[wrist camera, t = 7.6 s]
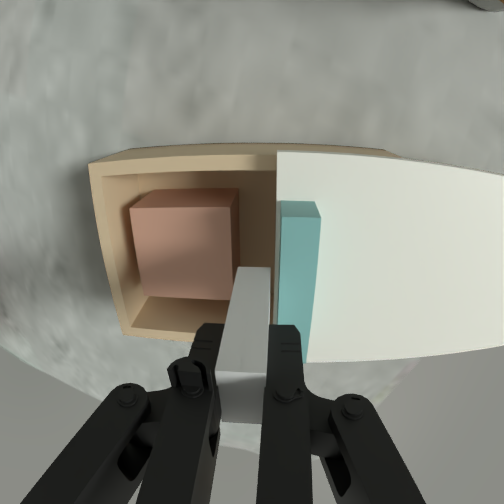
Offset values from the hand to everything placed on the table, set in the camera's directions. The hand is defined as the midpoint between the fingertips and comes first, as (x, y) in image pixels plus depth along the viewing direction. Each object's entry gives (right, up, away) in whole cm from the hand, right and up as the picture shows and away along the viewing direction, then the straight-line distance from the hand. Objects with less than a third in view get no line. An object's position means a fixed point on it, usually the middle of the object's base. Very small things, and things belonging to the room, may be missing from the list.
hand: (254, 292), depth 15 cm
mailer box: (0, +4, +8) cm, 9 cm away
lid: (+10, +1, +2) cm, 11 cm away
